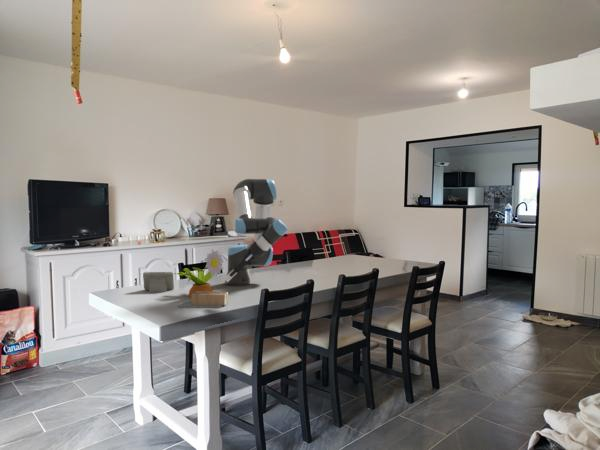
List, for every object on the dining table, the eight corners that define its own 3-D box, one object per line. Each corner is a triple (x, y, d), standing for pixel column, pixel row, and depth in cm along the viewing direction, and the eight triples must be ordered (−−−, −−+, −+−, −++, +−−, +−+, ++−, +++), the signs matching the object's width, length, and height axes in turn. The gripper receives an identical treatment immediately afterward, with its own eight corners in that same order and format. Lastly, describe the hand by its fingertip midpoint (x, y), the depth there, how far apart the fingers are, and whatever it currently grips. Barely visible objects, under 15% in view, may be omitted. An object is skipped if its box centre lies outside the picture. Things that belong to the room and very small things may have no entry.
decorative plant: (200, 302, 210) (200, 252, 209) (165, 296, 222) (165, 248, 221) (234, 292, 234) (235, 247, 232) (201, 287, 246) (201, 244, 244)
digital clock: (175, 289, 241) (175, 270, 240) (170, 292, 232) (170, 273, 231) (146, 288, 241) (146, 270, 241) (140, 292, 232) (140, 272, 232)
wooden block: (227, 301, 211) (195, 301, 211) (228, 291, 211) (195, 291, 211) (225, 305, 204) (191, 304, 204) (225, 294, 204) (191, 294, 204)
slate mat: (186, 300, 214) (186, 299, 214) (225, 301, 214) (225, 300, 214) (178, 307, 201) (178, 306, 201) (220, 307, 201) (220, 307, 201)
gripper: (264, 253, 199) (228, 288, 200) (267, 250, 212) (233, 283, 213) (253, 241, 199) (217, 277, 200) (256, 239, 212) (223, 272, 213)
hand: (225, 280), depth 207 cm, fingers closed
